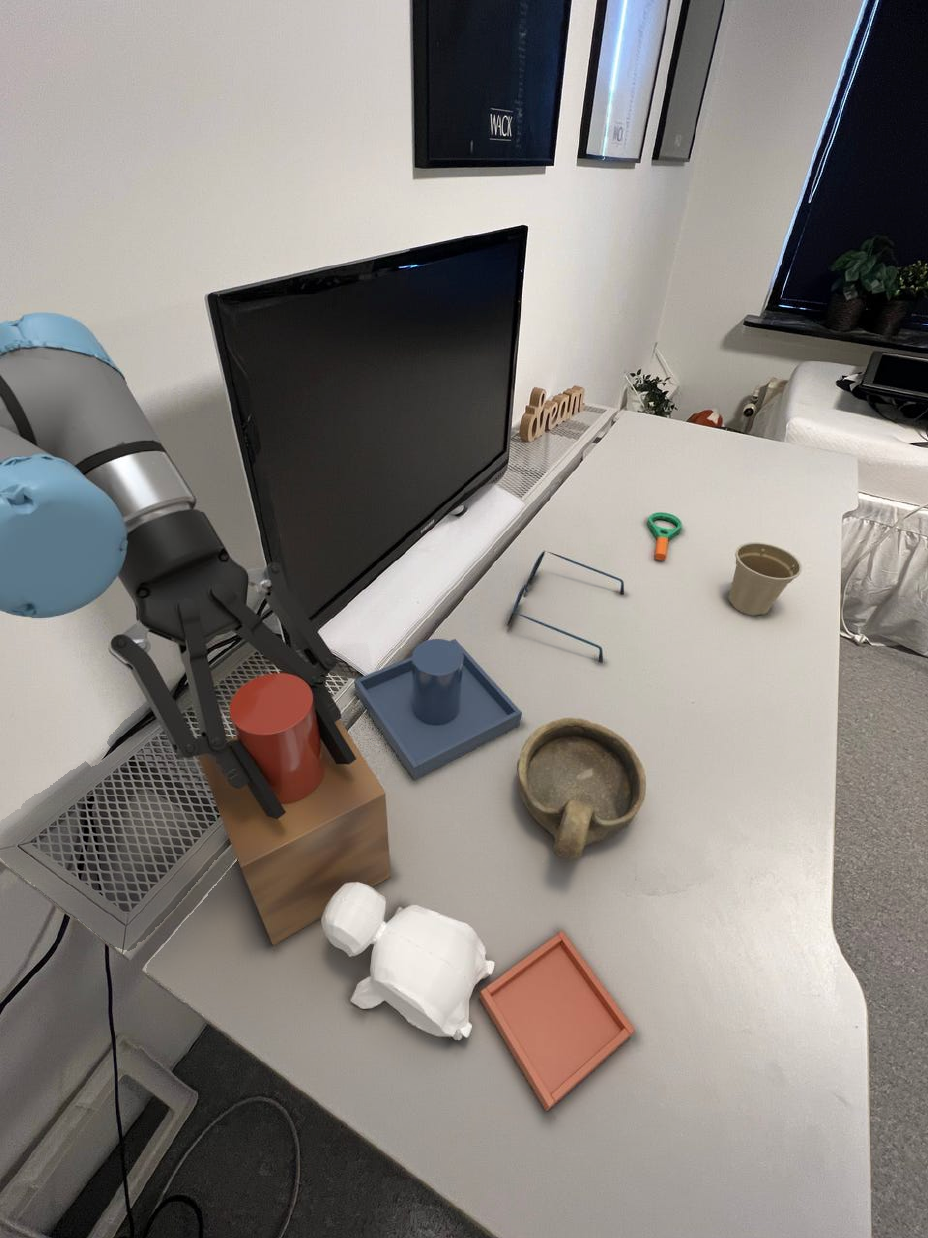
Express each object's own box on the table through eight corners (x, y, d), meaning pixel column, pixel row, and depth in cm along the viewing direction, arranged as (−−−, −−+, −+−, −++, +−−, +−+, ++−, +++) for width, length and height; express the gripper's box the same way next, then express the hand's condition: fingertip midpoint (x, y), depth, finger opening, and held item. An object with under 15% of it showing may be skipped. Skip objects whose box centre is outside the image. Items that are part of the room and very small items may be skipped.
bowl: (641, 768, 70) (664, 713, 64) (621, 911, 58) (647, 862, 51) (528, 733, 73) (539, 678, 66) (486, 863, 60) (494, 811, 54)
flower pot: (722, 618, 92) (743, 574, 86) (712, 582, 99) (730, 538, 93) (785, 627, 91) (810, 582, 85) (770, 589, 98) (792, 546, 92)
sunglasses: (535, 569, 99) (543, 545, 95) (619, 602, 96) (631, 579, 93) (502, 633, 86) (510, 608, 83) (597, 672, 84) (609, 649, 81)
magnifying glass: (648, 514, 114) (651, 507, 113) (681, 521, 113) (683, 513, 112) (641, 557, 103) (643, 549, 102) (676, 565, 102) (679, 557, 101)
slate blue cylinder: (428, 732, 72) (428, 682, 66) (403, 700, 75) (402, 649, 69) (469, 713, 74) (473, 662, 68) (443, 682, 78) (446, 632, 72)
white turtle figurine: (474, 960, 56) (343, 871, 56) (514, 943, 50) (367, 843, 50) (434, 1060, 50) (288, 960, 50) (474, 1054, 44) (308, 941, 44)
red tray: (546, 1112, 46) (549, 1107, 45) (478, 997, 51) (480, 991, 50) (630, 1035, 50) (635, 1030, 49) (559, 937, 55) (562, 930, 54)
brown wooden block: (273, 946, 54) (240, 868, 44) (231, 840, 61) (195, 752, 51) (391, 876, 59) (385, 792, 49) (340, 786, 66) (326, 697, 56)
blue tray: (413, 780, 67) (413, 767, 66) (355, 693, 76) (353, 680, 75) (520, 725, 74) (522, 712, 72) (454, 651, 83) (454, 638, 82)
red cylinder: (266, 816, 47) (244, 747, 41) (241, 762, 50) (218, 691, 45) (336, 782, 49) (325, 712, 44) (308, 732, 53) (295, 662, 47)
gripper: (251, 502, 53) (382, 722, 56) (13, 596, 42) (191, 863, 45) (277, 468, 47) (422, 717, 50) (6, 568, 36) (212, 880, 39)
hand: (312, 786), depth 47 cm, fingers closed on red cylinder, 6 cm apart
